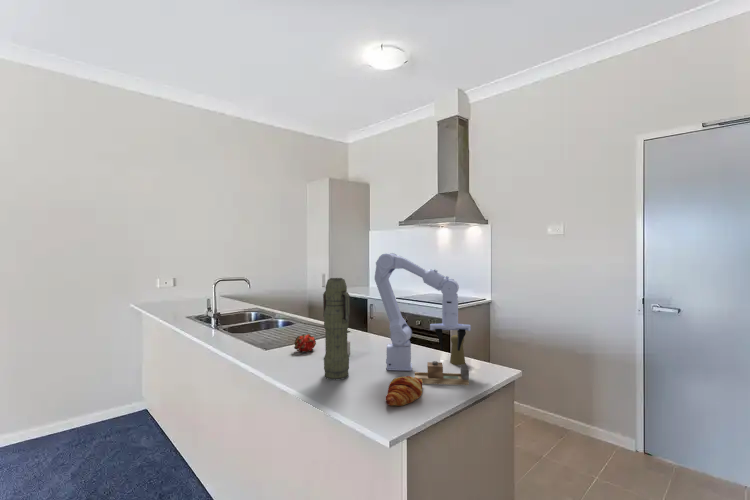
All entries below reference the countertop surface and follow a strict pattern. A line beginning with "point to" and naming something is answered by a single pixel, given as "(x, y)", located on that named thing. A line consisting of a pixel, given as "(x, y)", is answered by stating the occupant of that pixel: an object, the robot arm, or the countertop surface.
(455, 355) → the cork
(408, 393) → the croissant
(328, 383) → the countertop surface
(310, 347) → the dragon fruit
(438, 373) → the carriage
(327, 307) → the thermos
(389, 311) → the robot arm
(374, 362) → the countertop surface
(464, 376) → the rail
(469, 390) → the countertop surface
